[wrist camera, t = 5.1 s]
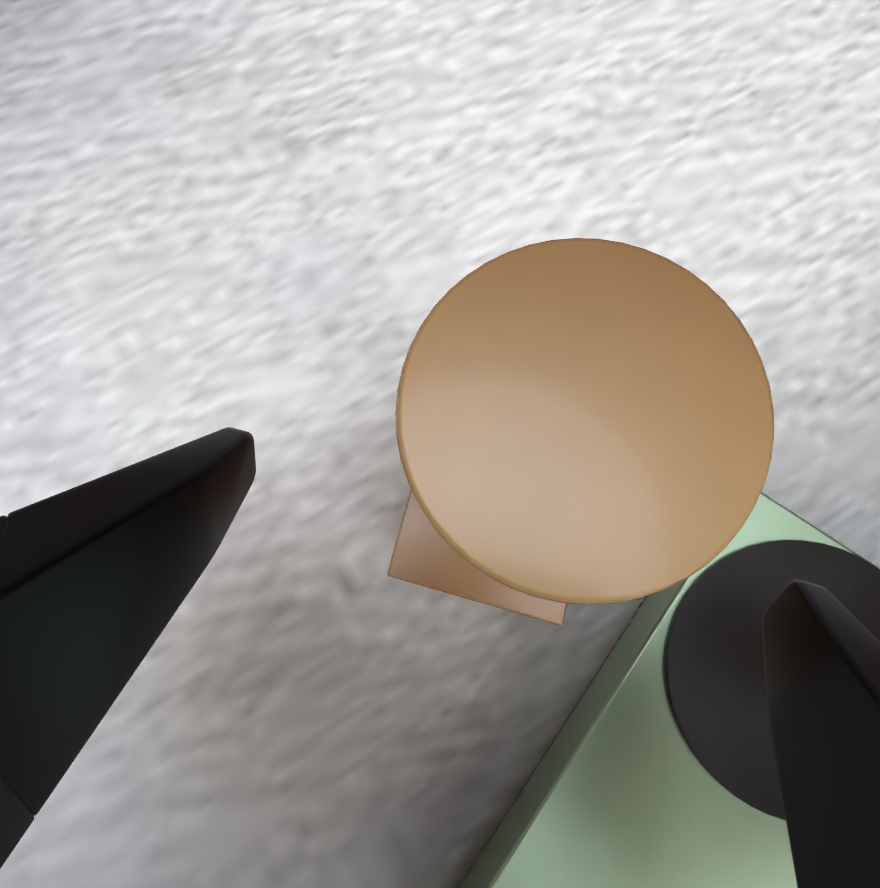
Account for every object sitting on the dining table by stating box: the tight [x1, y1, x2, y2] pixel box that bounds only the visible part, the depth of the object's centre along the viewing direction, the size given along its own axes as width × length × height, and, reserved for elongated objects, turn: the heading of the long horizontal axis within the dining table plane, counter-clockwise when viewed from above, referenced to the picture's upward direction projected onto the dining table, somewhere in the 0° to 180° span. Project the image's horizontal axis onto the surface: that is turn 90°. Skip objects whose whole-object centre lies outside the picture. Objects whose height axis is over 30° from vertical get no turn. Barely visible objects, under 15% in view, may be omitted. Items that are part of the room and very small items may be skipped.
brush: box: [387, 238, 774, 625], centre depth 11 cm, size 6×5×14 cm
